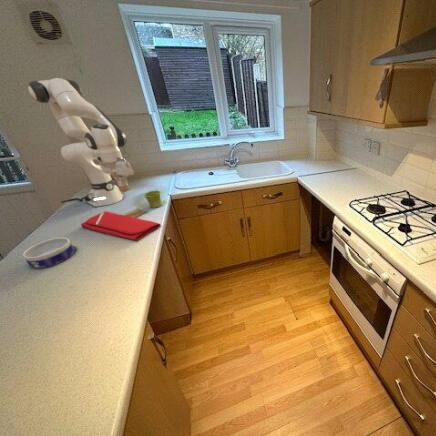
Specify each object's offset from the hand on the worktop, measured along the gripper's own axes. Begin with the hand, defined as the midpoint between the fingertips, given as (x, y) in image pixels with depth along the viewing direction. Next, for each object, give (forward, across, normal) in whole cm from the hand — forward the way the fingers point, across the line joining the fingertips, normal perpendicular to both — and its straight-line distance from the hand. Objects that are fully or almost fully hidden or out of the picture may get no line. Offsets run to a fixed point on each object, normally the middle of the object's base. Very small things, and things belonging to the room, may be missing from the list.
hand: (122, 182), depth 133 cm
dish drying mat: (+20, -8, +14) cm, 26 cm away
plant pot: (+20, -3, -13) cm, 24 cm away
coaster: (+20, 0, 0) cm, 20 cm away
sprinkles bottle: (+5, 0, 0) cm, 5 cm away
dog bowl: (+20, -4, +43) cm, 48 cm away
